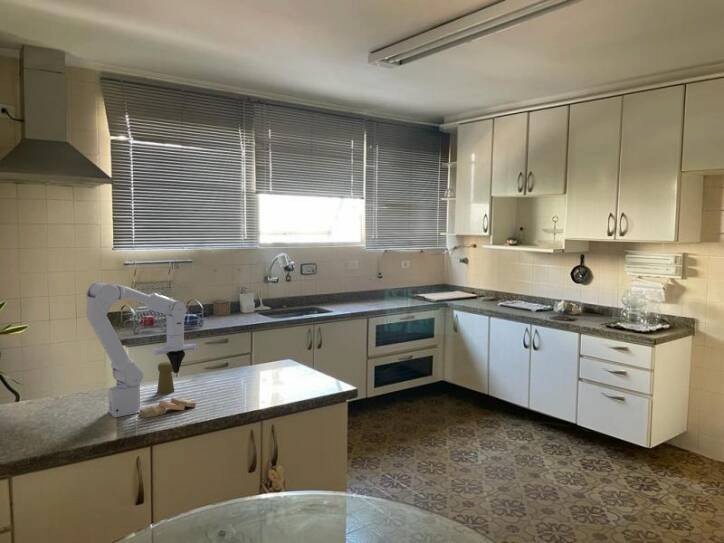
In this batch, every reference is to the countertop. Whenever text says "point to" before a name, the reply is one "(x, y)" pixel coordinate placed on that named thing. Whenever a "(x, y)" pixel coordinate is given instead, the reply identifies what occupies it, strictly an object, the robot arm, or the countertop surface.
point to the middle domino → (152, 410)
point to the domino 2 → (171, 405)
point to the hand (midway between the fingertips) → (175, 372)
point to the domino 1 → (150, 416)
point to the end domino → (183, 402)
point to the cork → (165, 378)
